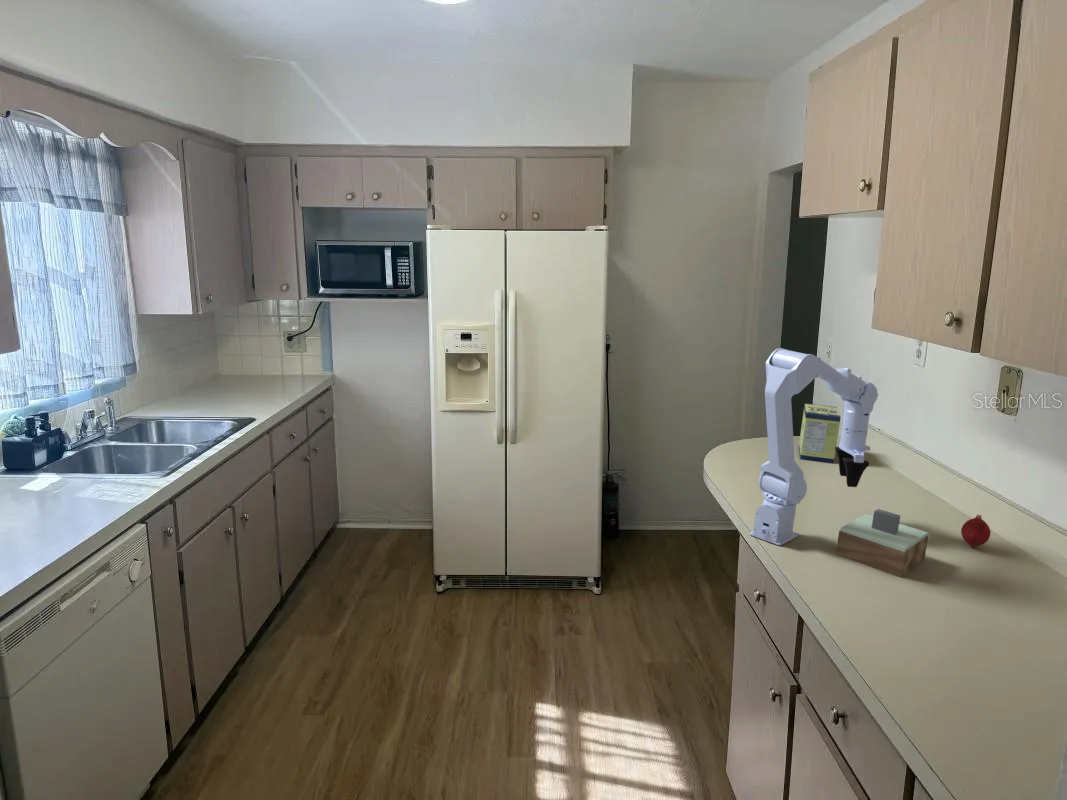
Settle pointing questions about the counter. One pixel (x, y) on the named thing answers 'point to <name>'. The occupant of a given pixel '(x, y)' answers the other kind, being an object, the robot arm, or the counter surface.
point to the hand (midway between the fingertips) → (848, 481)
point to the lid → (885, 530)
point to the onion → (975, 531)
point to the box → (880, 554)
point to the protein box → (819, 433)
